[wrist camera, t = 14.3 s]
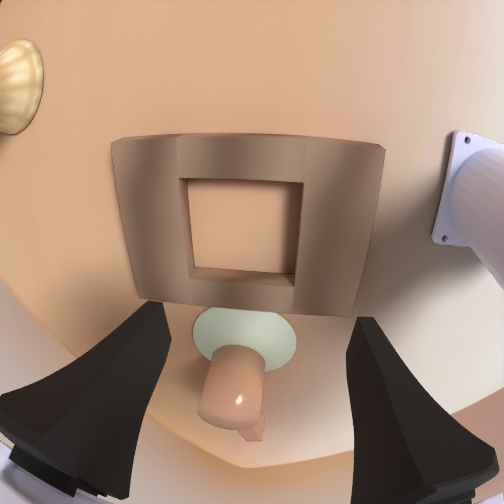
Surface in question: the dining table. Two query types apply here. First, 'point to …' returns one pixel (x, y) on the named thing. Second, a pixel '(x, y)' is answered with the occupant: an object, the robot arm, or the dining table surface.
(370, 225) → the walnut stand
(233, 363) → the peach rounded piece
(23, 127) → the hand bell
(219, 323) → the sage mat
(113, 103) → the dining table surface
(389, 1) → the dining table surface
